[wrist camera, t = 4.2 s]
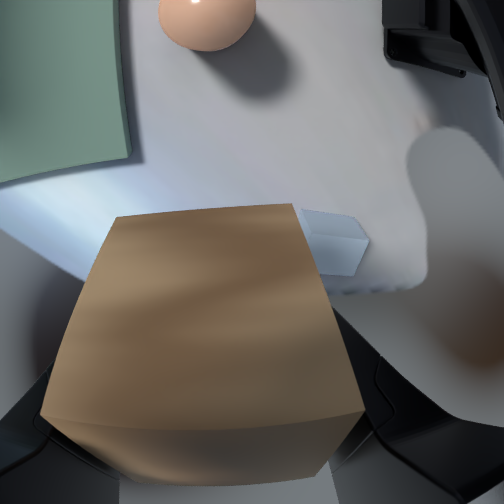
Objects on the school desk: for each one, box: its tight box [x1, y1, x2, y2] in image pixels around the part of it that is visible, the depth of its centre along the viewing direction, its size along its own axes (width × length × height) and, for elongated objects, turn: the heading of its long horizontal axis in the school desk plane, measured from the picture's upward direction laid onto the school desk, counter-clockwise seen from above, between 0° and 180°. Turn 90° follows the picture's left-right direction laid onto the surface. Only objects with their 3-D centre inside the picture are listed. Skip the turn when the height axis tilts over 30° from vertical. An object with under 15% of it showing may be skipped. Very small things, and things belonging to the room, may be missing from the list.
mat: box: [0, 0, 132, 183], centre depth 12 cm, size 14×14×1 cm
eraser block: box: [298, 209, 369, 276], centre depth 20 cm, size 4×3×3 cm
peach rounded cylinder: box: [158, 0, 256, 52], centre depth 11 cm, size 4×4×4 cm
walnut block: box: [40, 203, 365, 486], centre depth 8 cm, size 5×5×6 cm
